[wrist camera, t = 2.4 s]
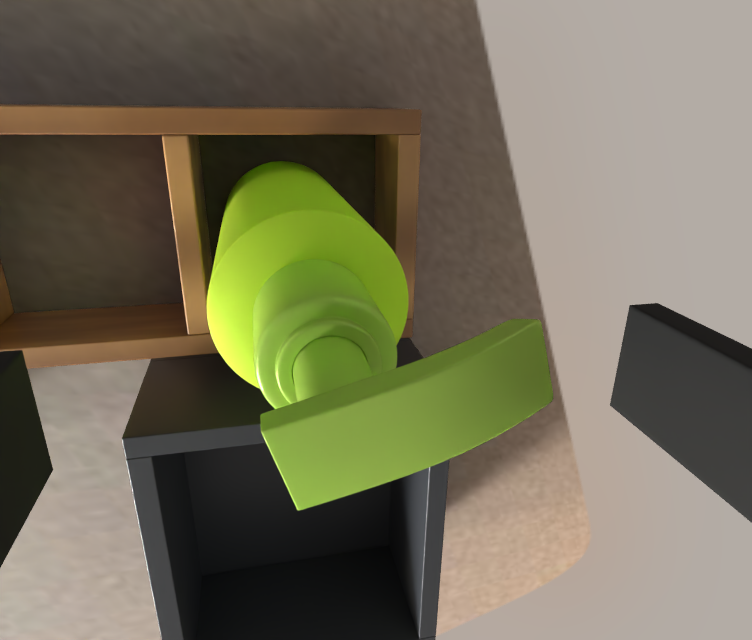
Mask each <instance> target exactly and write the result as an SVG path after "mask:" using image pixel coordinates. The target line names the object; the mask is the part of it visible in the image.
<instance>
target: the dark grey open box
mask: <svg viewBox="0 0 752 640" xmlns="http://www.w3.org/2000/svg"><path fill="white" fill-rule="evenodd" d="M421 359H423V357H422V355H421V354H420V353H419V351H418V350H417V348H416V347H415V345H414V344H413V342H412V341H411V340H410V338H400V340H399V342H398V344H397V366H396V368H398V367H401V366H404V365H407V364H410V363H412V362H415V361H418V360H421ZM274 409H275V408H274V407H273V406H272V405H271V404H270V403H269V402H268V401H267V400H266V398H265V397H264V395H263V394H262V392H261V390H260V389H259V388H257V387H255V386H254V385H252V384H250V383H249V382H247V381H246V380H244V379H243V378H241V377H240V376H239V375H238V374H237V373H236V372H235V371H233V369H232V368H231V367H230V366H229V365H228V364H227V363H226V362H225V360H224V359H223V357H222V356H221V354H220V353H212V354H200V355H188V356H175V357H163V358H151V361H150V364H149V366H148V369H147V372H146V375H145V377H144V380H143V383H142V385H141V388H140V391H139V394H138V396H137V399H136V402H135V404H134V407H133V410H132V413H131V415H130V418H129V421H128V423H127V426H126V429H125V432H124V434H123V437H122V443H123V448H124V453H125V458H126V463H127V468H128V473H129V478H130V483H131V488H132V493H133V498H134V503H135V508H136V513H137V518H138V523H139V529H140V534H141V539H142V544H143V549H144V554H145V559H146V564H147V569H148V574H149V579H150V584H151V589H152V594H153V599H154V604H155V609H156V614H157V619H158V624H159V629H160V634H161V639H162V640H435V637H436V625H437V612H438V599H439V586H440V573H441V560H442V547H443V534H444V521H445V508H446V495H447V482H448V469H449V459H448V460H446V461H444V462H441V463H439V464H436V465H434V466H431V467H429V468H426V469H424V470H421V471H418V472H416V473H413V474H410V475H407V476H405V477H402V478H399V479H396V480H393V481H390V482H387V483H384V484H381V485H378V486H375V487H372V488H369V489H366V490H363V491H360V492H357V493H354V494H351V495H348V496H345V497H341V498H338V499H335V500H332V501H329V502H326V503H322V504H319V505H316V506H313V507H309V508H306V509H303V510H299V511H298V510H297V508H296V506H295V504H294V502H293V500H292V497H291V495H290V493H289V491H288V489H287V487H286V485H285V482H284V480H283V478H282V476H281V474H280V472H279V470H278V467H277V465H276V463H275V461H274V459H273V457H272V455H271V452H270V450H269V448H268V446H267V444H266V442H265V440H264V437H263V435H262V433H261V420H260V415H261V414H263V413H265V412H268V411H271V410H274Z"/></svg>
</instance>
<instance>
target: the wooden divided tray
mask: <svg viewBox="0 0 752 640" xmlns="http://www.w3.org/2000/svg"><path fill="white" fill-rule="evenodd" d="M421 115H422V111H421V110H419V109H399V108H326V107H234V106H143V105H51V104H0V134H80V135H162V142H163V150H164V157H165V165H166V173H167V180H168V188H169V195H170V203H171V211H172V218H173V226H174V233H175V241H176V249H177V256H178V264H179V271H180V279H181V287H182V294H183V302H184V303H171V304H155V305H139V306H122V307H106V308H90V309H74V310H58V311H41V312H25V313H14V310H13V306H12V302H11V298H10V295H9V291H8V287H7V283H6V279H5V275H4V271H3V268H2V264H1V260H0V352H1V351H14V350H22V351H23V355H24V359H25V363H26V367H27V369H28V368H40V367H52V366H65V365H77V364H89V363H102V362H114V361H126V360H138V359H151V358H163V357H175V356H188V355H200V354H212V353H219V351H218V349H217V348H216V346H215V343H214V341H213V339H212V336H211V333H210V329H209V325H208V319H207V295H208V289H209V284H210V279H211V274H212V260H211V250H210V241H209V232H208V222H207V213H206V204H205V194H204V185H203V176H202V166H201V157H200V148H199V138H198V135H376V142H375V231H376V232H377V233H378V234H379V235H380V236H381V237H382V238H383V239H384V240H385V241H386V242H387V244H388V245H389V246H390V247H391V249H392V250H393V251H394V253H395V255H396V256H397V258H398V260H399V262H400V264H401V266H402V269H403V271H404V274H405V278H406V282H407V288H408V314H407V319H406V323H405V327H404V330H403V333H402V335H401V338H409V337H412V333H413V310H414V286H415V262H416V238H417V213H418V189H419V165H420V141H421V135H419V134H421Z"/></svg>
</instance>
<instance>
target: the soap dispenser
mask: <svg viewBox="0 0 752 640" xmlns="http://www.w3.org/2000/svg"><path fill="white" fill-rule="evenodd" d="M407 314H408V288H407V282H406V278H405V274H404V271H403V269H402V266H401V264H400V262H399V260H398V258H397V256H396V255H395V253H394V251H393V250H392V249H391V247H390V246H389V245H388V244H387V242H386V241H385V240H384V239H383V238H382V237H381V236H380V235H379V234H378V233H377V232H376V231H375V230H374V229H373V228H372V227H371V226H370V225H369V224H368V223H367V222H366V221H365V220H364V219H363V218H362V217H361V216H360V215H359V214H358V213H357V212H356V211H355V210H354V209H353V208H352V207H351V206H350V205H349V204H348V203H347V202H346V201H345V200H344V199H343V198H342V197H341V196H340V195H339V194H338V193H337V191H336V190H335V189H334V188H333V187H332V186H331V185H330V184H329V183H328V182H327V181H326V180H325V179H324V178H323V177H322V176H320V175H319V174H318V173H317V172H315V171H314V170H312V169H310V168H308V167H306V166H304V165H301V164H298V163H294V162H288V161H275V162H269V163H265V164H262V165H259V166H257V167H255V168H253V169H251V170H250V171H248V172H247V173H246V174H244V175H243V176H242V177H241V178H240V179H239V180H238V181H237V183H236V184H235V185H234V187H233V188H232V190H231V192H230V194H229V196H228V199H227V202H226V206H225V211H224V216H223V221H222V225H221V230H220V235H219V240H218V245H217V250H216V255H215V259H214V264H213V269H212V274H211V279H210V284H209V289H208V295H207V319H208V325H209V329H210V333H211V336H212V339H213V341H214V343H215V346H216V348H217V349H218V351H219V353H220V354H221V356H222V357H223V359H224V360H225V362H226V363H227V364H228V365H229V366H230V367H231V368H232V369H233V371H235V372H236V373H237V374H238V375H239V376H240V377H241V378H243V379H244V380H246V381H247V382H249V383H250V384H252V385H254V386H255V387H257V388H259V389H260V390H261V392H262V394H263V395H264V397H265V398H266V400H267V401H268V402H269V403H270V404H271V405H272V406H273V407H274V408H275V409H274V410H271V411H268V412H265V413H263V414H261V415H260V420H261V433H262V435H263V437H264V440H265V442H266V444H267V446H268V448H269V450H270V452H271V455H272V457H273V459H274V461H275V463H276V465H277V467H278V470H279V472H280V474H281V476H282V478H283V480H284V482H285V485H286V487H287V489H288V491H289V493H290V495H291V497H292V500H293V502H294V504H295V506H296V508H297V510H298V511H299V510H303V509H306V508H309V507H313V506H316V505H319V504H322V503H326V502H329V501H332V500H335V499H338V498H341V497H345V496H348V495H351V494H354V493H357V492H360V491H363V490H366V489H369V488H372V487H375V486H378V485H381V484H384V483H387V482H390V481H393V480H396V479H399V478H402V477H405V476H407V475H410V474H413V473H416V472H418V471H421V470H424V469H426V468H429V467H431V466H434V465H436V464H439V463H441V462H444V461H446V460H448V459H451V458H453V457H455V456H458V455H460V454H462V453H464V452H466V451H469V450H471V449H473V448H475V447H477V446H479V445H481V444H483V443H485V442H487V441H489V440H491V439H492V438H494V437H496V436H498V435H500V434H502V433H503V432H505V431H507V430H509V429H510V428H512V427H514V426H515V425H517V424H519V423H520V422H522V421H524V420H525V419H527V418H528V417H530V416H532V415H533V414H535V413H536V412H538V411H539V410H541V409H542V408H544V407H545V406H546V405H548V404H549V403H550V402H552V400H553V390H552V384H551V378H550V371H549V365H548V359H547V353H546V347H545V341H544V336H543V330H542V324H541V321H540V320H538V319H511V320H508V321H506V322H504V323H502V324H500V325H498V326H496V327H494V328H492V329H490V330H488V331H486V332H484V333H482V334H480V335H478V336H476V337H474V338H471V339H469V340H467V341H465V342H463V343H460V344H458V345H456V346H453V347H451V348H449V349H446V350H444V351H441V352H439V353H436V354H434V355H431V356H429V357H426V358H423V359H421V360H418V361H415V362H412V363H410V364H407V365H404V366H401V367H398V368H396V366H397V344H398V342H399V340H400V338H401V335H402V333H403V330H404V327H405V323H406V319H407Z"/></svg>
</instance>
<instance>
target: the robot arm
mask: <svg viewBox="0 0 752 640" xmlns="http://www.w3.org/2000/svg"><path fill="white" fill-rule="evenodd" d="M610 406H612V407H613V408H614V409H615V410H616V411H618V412H619V413H620V414H621V415H622V416H624V417H625V418H626V419H627V420H628V421H630V422H631V423H632V424H633V425H635V426H636V427H637V428H638V429H639V430H641V431H642V432H643V433H644V434H645V435H647V436H648V437H649V438H650V439H651V440H653V441H654V442H655V443H656V444H657V445H659V446H660V447H661V448H662V449H664V450H665V451H666V452H667V453H668V454H670V455H671V456H672V457H673V458H674V459H676V460H677V461H678V462H679V463H680V464H682V465H683V466H684V467H685V468H686V469H688V470H689V471H690V472H691V473H692V474H694V475H695V476H696V477H697V478H699V479H700V480H701V481H702V482H703V483H705V484H706V485H707V486H708V487H709V488H711V489H712V490H713V491H714V492H715V493H717V494H718V495H719V496H720V497H721V498H723V499H724V500H725V501H726V502H728V503H729V504H730V505H731V506H732V507H734V508H735V509H736V510H737V511H738V512H740V513H741V514H742V515H743V516H744V517H746V518H747V519H748V520H749V521H750V522H752V349H751V348H749V347H747V346H745V345H743V344H741V343H739V342H737V341H735V340H733V339H731V338H728V337H726V336H724V335H722V334H720V333H718V332H716V331H714V330H712V329H710V328H708V327H706V326H704V325H702V324H699V323H697V322H695V321H693V320H691V319H689V318H687V317H685V316H683V315H681V314H678V313H676V312H674V311H672V310H670V309H668V308H666V307H664V306H662V305H660V304H658V303H655V304H641V305H630V307H629V312H628V317H627V323H626V327H625V332H624V337H623V342H622V347H621V352H620V357H619V363H618V368H617V373H616V378H615V383H614V388H613V393H612V398H611V403H610ZM52 471H53V468H52V464H51V460H50V456H49V452H48V448H47V444H46V441H45V437H44V433H43V429H42V425H41V421H40V417H39V413H38V409H37V406H36V402H35V398H34V394H33V390H32V386H31V382H30V378H29V375H28V371H27V367H26V363H25V359H24V355H23V351H22V350H14V351H1V352H0V567H1V565H2V564H3V562H4V560H5V558H6V556H7V554H8V552H9V551H10V549H11V547H12V545H13V543H14V541H15V539H16V538H17V536H18V534H19V532H20V530H21V528H22V526H23V525H24V523H25V521H26V519H27V517H28V515H29V513H30V512H31V510H32V508H33V506H34V504H35V502H36V500H37V499H38V497H39V495H40V493H41V491H42V489H43V487H44V486H45V484H46V482H47V480H48V478H49V476H50V474H51V473H52Z"/></svg>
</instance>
